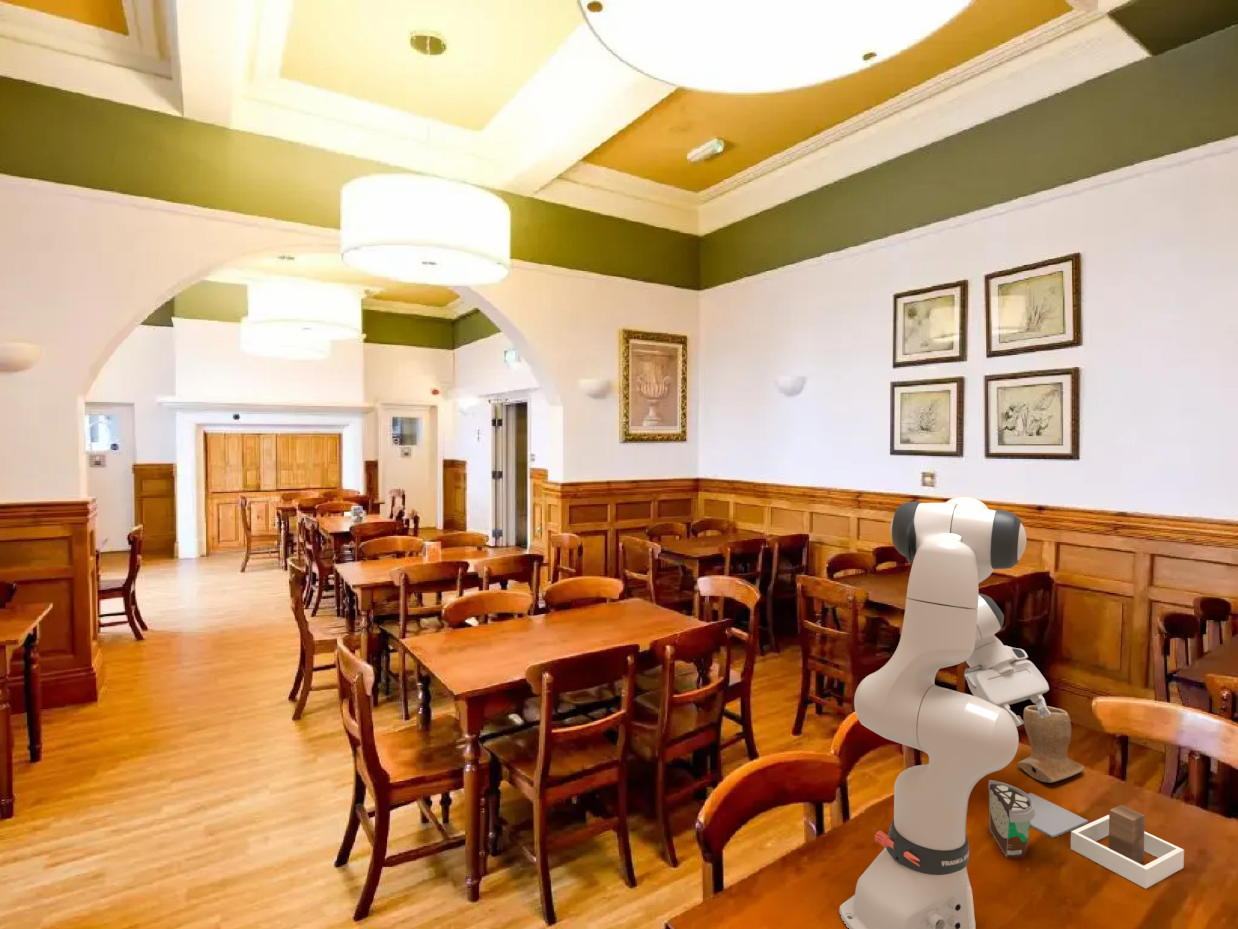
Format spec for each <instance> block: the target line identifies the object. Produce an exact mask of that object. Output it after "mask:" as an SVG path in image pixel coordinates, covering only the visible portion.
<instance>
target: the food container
mask: <svg viewBox="0 0 1238 929" xmlns="http://www.w3.org/2000/svg"><path fill="white" fill-rule="evenodd" d="M987 785H988V787H987V789H988V806H989V807H988V808H989V810H988V812H989V814H988V816H989V831H990V833H991V834H993V835H992V836H993V838H994V840H995V839H996V840H997V841H996V840H995V841H996V843H997V842H998V843H997V844H999V845H998V847H999V848H1000V847H1001V848H1000V850H1001V849H1002V850H1001V852H1002V853H1003V852H1005V855H1004V857H1005V856H1006V857H1005V858H1006V859H1009V858H1012V860H1013V859H1014V858H1015V859H1021V858H1023V857H1025V856H1026V854H1027V853H1028V845H1029V837H1030V836H1029V835H1030V829H1031V827H1030V820H1032V819H1033V818H1034V816H1035V810H1034V805H1033V803H1032V801H1031V798H1030V797H1029V796H1028V795H1027V794H1028V793H1026V792H1025V791H1023V790H1022V789H1020V788H1018V787H1016V786H1013V785H1011V784H1009V783H1006V782H1001V781H997V780H991V779H989V780H988V784H987ZM1026 852H1027V853H1026ZM1015 859H1014V860H1015Z"/></svg>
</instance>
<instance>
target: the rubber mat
mask: <svg viewBox="0 0 1238 929" xmlns="http://www.w3.org/2000/svg"><path fill="white" fill-rule="evenodd" d="M1026 794H1027V795H1028V796H1029V797H1030V798H1031V801H1032V803H1033V805H1034V810H1035V816H1034V818H1033V819H1032V820H1030V828H1032V829H1034V828H1035V829H1034V830H1036V829H1037V830H1036V831H1038V832H1040V833H1042V834H1043V835H1046V834H1047V835H1046V836H1048V835H1049V836H1050V837H1049V836H1048V837H1049V838H1051V837H1052V839H1055V838H1056V837H1059V835H1060V836H1061V835H1064V834H1066V833H1068V832H1071V831H1073V830H1076V829H1078V828H1080V827H1082V826H1085V825H1087V824H1089V820H1088V819H1086V818H1084V817H1081V816H1080V815H1078V814H1075V813H1073V812H1071V811H1070V810H1067V809H1065V808H1063V807H1062V806H1059V805H1057V804H1055V803H1053V802H1051V801H1049V800H1047V799H1044V797H1041V796H1038V795H1037V794H1034V793H1032V792H1030V793H1026ZM1054 837H1055V838H1054Z"/></svg>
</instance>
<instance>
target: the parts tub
mask: <svg viewBox="0 0 1238 929" xmlns="http://www.w3.org/2000/svg"><path fill="white" fill-rule="evenodd" d="M1106 837H1109V814H1107V815H1105V816H1103V817H1100V818H1099V819H1096V820H1094V821H1092V822H1091V821H1090V822H1088V823H1086V824H1084V825H1082V826H1080V827H1077V828H1075V829H1073V830H1071V831H1070V850H1072V851H1074V852H1076V853H1078V854H1079V855H1082V856H1083V857H1085V858H1087V859H1088V860H1091V861H1092V862H1095V863H1097V864H1098V865H1100V866H1101V867H1104V868H1106V869H1107V870H1110V871H1111V872H1114V873H1115V874H1116V875H1119V876H1121V877H1123V878H1125V879H1127V880H1128V881H1130V882H1132V883H1135V884H1136V885H1137V886H1139V887H1142V888H1144V889H1148V888H1150V887H1152V886H1153V885H1156V884H1158V883H1159V882H1160V881H1163V880H1164V879H1166V878H1168V877H1170V876H1171V875H1173V874H1175V873H1176V872H1179V871H1181V870H1182V869H1184V864H1185V863H1184V862H1185V860H1184V858H1185V849H1183V848H1181V847H1179V846H1177V845H1175V844H1173V843H1170V842H1168V841H1166V840H1164V839H1162V838H1160V837H1157V836H1155V835H1153V834H1151V833H1149V832H1147V831H1145V830H1144V853H1147V854H1149V855H1152V856H1153V857H1156V859H1154V860H1152V861H1150V862H1149V863H1146V864H1141V863H1137V862H1135V861H1133V860H1131V859H1129V858H1127V857H1125V856H1123V855H1121V854H1119V853H1117V852H1115V851H1113V850H1111V849H1109V848H1108V846H1106V845H1104V844H1102V843H1099V842H1098V841H1099V840H1102V839H1104V838H1106Z"/></svg>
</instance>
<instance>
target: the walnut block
mask: <svg viewBox="0 0 1238 929" xmlns="http://www.w3.org/2000/svg"><path fill="white" fill-rule="evenodd" d="M1108 815H1109V835H1108V846H1107V848H1109V849H1111V850H1113V851H1115V852H1117V853H1119V854H1121V855H1123V856H1125V857H1127V858H1129V859H1131V860H1133V861H1135V862H1137V863H1139V864H1141V863H1143V862H1144V860H1145V858H1144V854H1145V851H1144V831H1145V822H1146V821H1145V820H1146V815H1145V814H1143V813H1141V812H1138V811H1137V810H1135V809H1132V808H1129V807H1127V806H1125V805H1123V804H1119V805H1118V806H1115V807H1113V808H1111V809H1109V813H1108Z"/></svg>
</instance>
